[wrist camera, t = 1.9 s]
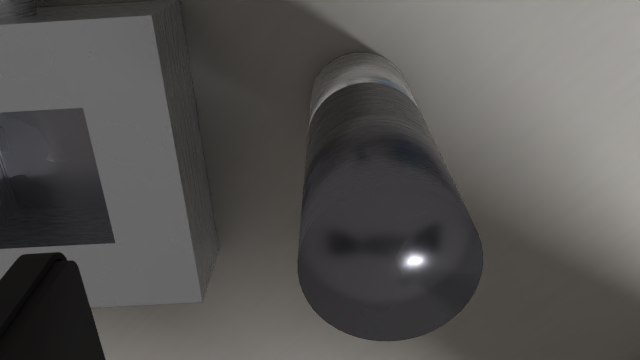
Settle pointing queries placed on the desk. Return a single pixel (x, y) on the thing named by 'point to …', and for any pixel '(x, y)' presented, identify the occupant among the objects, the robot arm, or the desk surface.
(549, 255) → the desk surface
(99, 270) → the block
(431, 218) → the dark gray capped cylinder
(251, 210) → the desk surface
